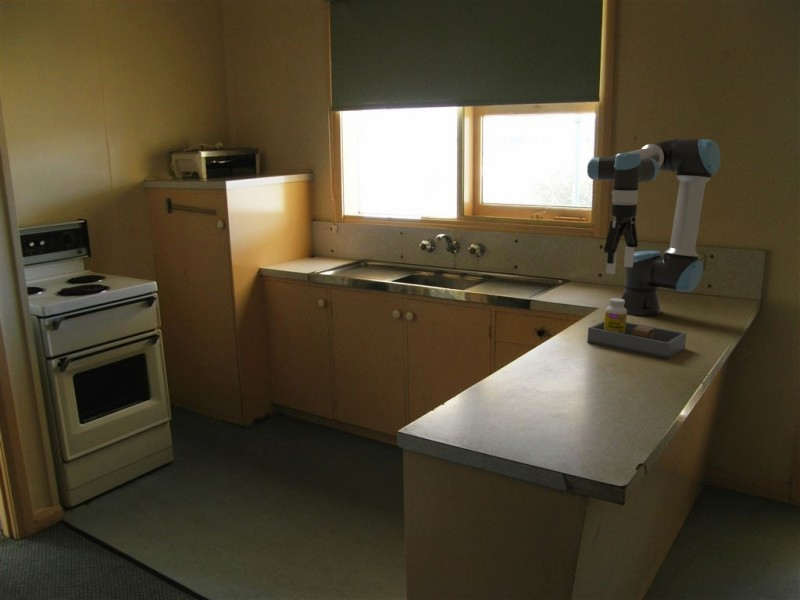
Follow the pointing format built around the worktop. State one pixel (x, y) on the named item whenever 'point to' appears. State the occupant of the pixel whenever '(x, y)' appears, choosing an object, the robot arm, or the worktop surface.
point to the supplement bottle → (615, 316)
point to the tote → (639, 340)
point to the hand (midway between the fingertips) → (619, 270)
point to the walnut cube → (643, 332)
